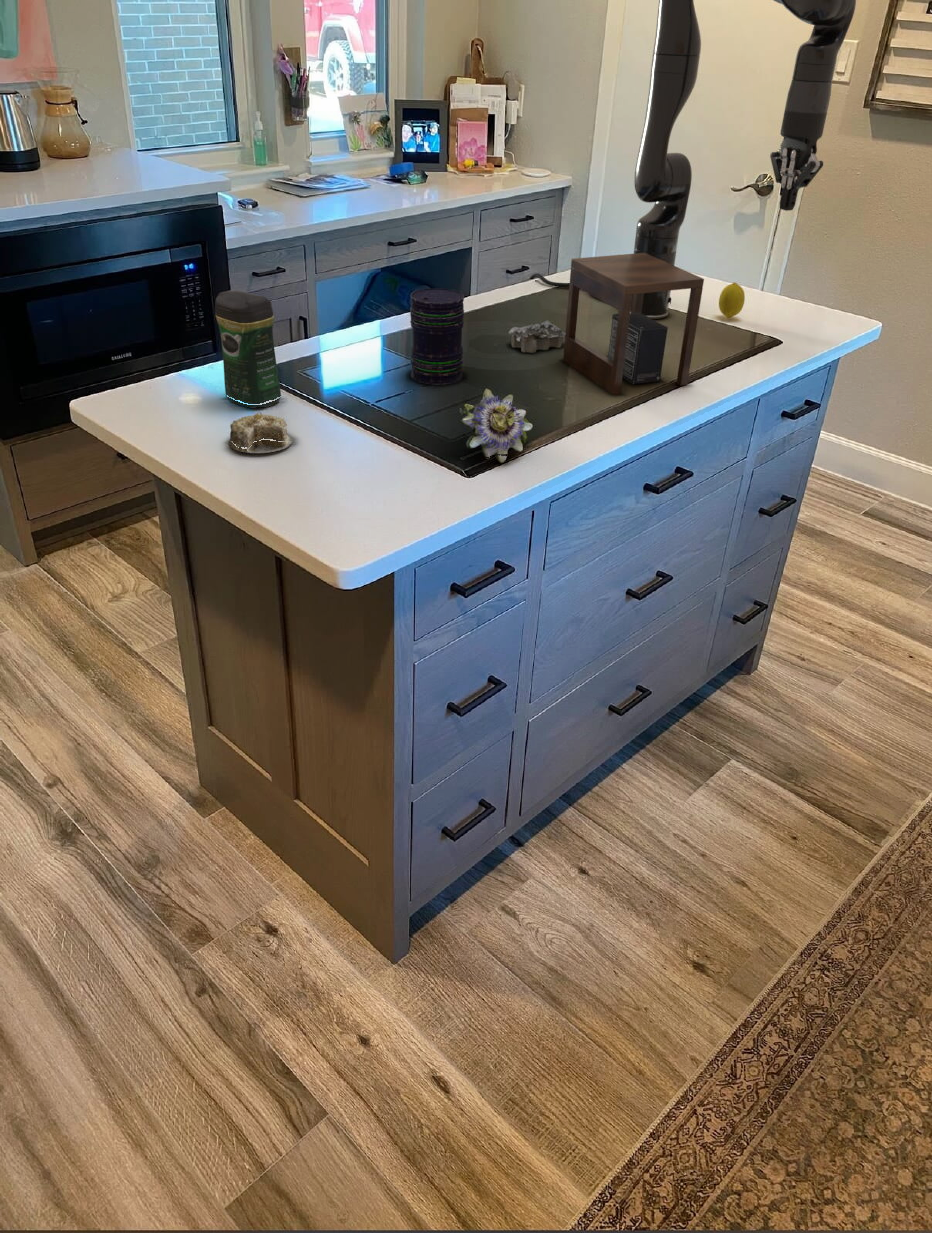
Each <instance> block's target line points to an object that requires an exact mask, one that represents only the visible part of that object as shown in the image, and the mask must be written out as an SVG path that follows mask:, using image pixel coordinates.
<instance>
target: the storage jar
mask: <svg viewBox="0 0 932 1233" xmlns="http://www.w3.org/2000/svg"><path fill="white" fill-rule="evenodd" d="M410 301H411V302H410V309H409V310H410V311H409V312H410V313H409V316H410V321H409V322H410V327H411V334H412V335H411V347H410V364H411V365H410V366H411V374H410V376H411V378H412V379H413V380H414V381H416V382H418V383H421V384H425V385H432V386H433V385H436V386H441V385H449V384H454V383H457V382H459V381H460V380H461V379H462V378H463V373H462V369H463V363H464V356H463V355H464V348H463V346H462V342H463V341H462V340H463V338H462V337H463V336H462V335H463V328H464V324H465V321H464V317H465V309H464V301H465V295H464V294H463V293H462V292H461V291H458V290H455V289H450V288H440V287H439V288H438V287H435V288H434V287H433V288H431V287H430V288H429V287H428V288H422V289H418V290H415V291H413V292H411V293H410Z"/></svg>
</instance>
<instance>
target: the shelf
mask: <svg viewBox="0 0 932 1233" xmlns="http://www.w3.org/2000/svg"><path fill="white" fill-rule="evenodd" d="M569 274H570V275H569V283H570V285H569V287H568V299H567V309H566V323H565V332H566V333H565V332H564V333H565V337H564V347H563V357H562V360H563V362H565V363H566V364H568V365H569V366H570V367H572V368H573V369H575V370H577V371H578V372H580V373H581V374H582V375H584V376H586V377H587V378H588V379H589V380H591V381H592V382H594V383H595V384H596V385H598V386H600V387H601V388H602V389H604V390H606V391H607V392H608V393H610V394H611V395H613V396H616V395H617V396H618V395H621V393H622V384H623V378H622V377H623V369H624V360H625V352H626V344H627V335H628V327H629V319H630V310H631V313H641V312H642V304H643V296H644V293H650V292H661V291H671V292H672V291H680V290H689V289H690V292H689V298H688V305H687V311H686V318H685V323H684V324H685V325H684V330H683V337H682V344H681V350H680V357H679V364H678V369H677V377H676V382H675V383H676V384H677V385H678V386H680V387H682V386H688V383H689V376H690V369H691V364H692V357H693V351H694V345H695V339H696V334H697V328H698V320H699V316H700V315H699V314H700V308H701V303H702V302H701V301H702V296H703V295H702V294H703V290H704V284H705V282H704V281H705V278H703V277H701V276H699V275H696V274H693V273H691V272H690V271H687V270H685V269H682V268H680V267H678V266H675V265H671V264H669V263H667V262H664V261H662V260H660V259H658V258H655V257H653V256H651V255H649V254H646V253H636V254H634V253H625V254H614V255H613V254H612V255H601V256H588V257H587V256H586V257H576V258H571V262H570V273H569ZM580 290H581V291H583V292H585V293H587V294H589V295H590V296H592V297H594V298H596V299H597V300H599V301H600V300H601V301H600V302H602V301H603V303H605V304H607V305H608V306H610V307H612V308H613V309H616V310H618V313H617V314H618V323H617V332H616V341H615V350H614V358H613V361H612V360H611V359H609V358H608V356H606V355H604V354H603V353H601V352H600V351H599V350H596V349H595V348H593V347H592V346H590V345H589V344H587V343H586V342H584V341H582V340H581V339H579V338H577V337H576V334H577V323H578V310H579V302H580V301H579V299H580ZM632 294H633V300H632ZM631 302H632V309H631Z"/></svg>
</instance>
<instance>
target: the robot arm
mask: <svg viewBox="0 0 932 1233" xmlns="http://www.w3.org/2000/svg"><path fill="white" fill-rule="evenodd" d="M773 1H774V2H776V3H778V4H780V5H782V6H783V7H784V8H785V9H786V10H787V11H789V12H790V13H791V14H792V15H793V16H794V17H796V18H797V19H798V20H800V21H801V22H803V23H806V24H808V25H812V26H813V28H812V31H811V33H810V36H809V39H808V40H807V41H805V42H803V43H802V44H801V45H799V47H798V50H797V52H796V56H795V62H794V67H793V73H792V76H791V77H792V78H791V81H790V82H791V83H790V86H789V88H788V92H787V96H786V101H785V106H784V112H783V117H782V122H781V126H780V132H779V133H780V136H781V137H783V138H782V141H781V143H780V147H779V149H777V151H772V152H770V155H769V158H770V161H771V166H772V170H773V174H774V178H775V182H776V183H777V184H780V187H781V194H780V199H779V210H783V211H785V212H786V211H787V212H788V211H793V210H794V208H795V206H796V202H797V198H798V193H799V190H800V189H802V188H807V187H808V186H809V184H811V182H812V181H813V180H814V178H815V177H816V176H817V174H818V173H819V172H820V171H821V169H822V168H823V166H824V161H823V160H819V159H818V157H817V152H818V145H817V144H818V141H819V140H820V139H821V138H822V137H823V135H824V130H825V124H826V119H827V115H828V111H829V106H830V101H831V95H832V85H833V80H834V75H835V70H836V66H837V61H838V55H839V52H840V50H841V47H842V45H843V43H844V41H845V38H846V36H847V33H848V31H849V28H850V26H851V23H852V21H853V18H854V15H855V11H856V6H857V0H773ZM656 16H657V17H656V29H655V37H654V43H653V51H652V58H651V66H650V67H651V68H650V76H649V87H648V96H647V104H646V110H645V117H644V123H643V130H642V133H641V139H640V142H639V143H640V144H639V149H638V153H637V158H636V163H635V167H634V168H635V169H634V190H635V193H636V196H637V198H638V199H639V200H640V201H641V202H643V203H647V204H648V203H649V204H650V203H654V205H653V206H652V208H651V209H650V210H649V211H648V212H647V213H646V214H644V215H643V216H641V217H640V218H639V219H638V220H637V222H636V228H635V229H636V230H635V239H634V245H633V246H634V248H633V254H636V253H646V254H649V255H651V256H653V257H655V258H658V259H660V260H662V261H664V262H667V263H669V264H671V265H674V266H675V264H676V257H677V249H678V242H679V234H680V229H681V227H682V225H683V224H684V221H685V218H686V214H687V209H688V208H687V207H688V202H689V198H690V192H691V188H692V187H691V186H692V178H693V172H692V166H691V162H690V160H689V158H688V157H687V156H686V155H685V154H684V153H681V152H668V151H669V143H670V138H671V135H672V131H673V129H674V125H675V123H676V121H677V119H678V118H679V116H680V114H681V113H682V110H683V108H684V107H685V105H686V104H687V102H688V100H689V98H690V96H691V95H692V93H693V90H694V88H695V86H696V83H697V78H698V72H699V67H700V58H701V51H702V38H701V37H702V36H701V32H700V31H701V30H700V26H699V21H698V17H697V12H696V8H695V1H694V0H658V6H657V15H656ZM536 278H538V279H539V280H540V281H541V282H542V283H544V284H545V285H548V286H551V287H557V288H569V285H570V282H558V281H557V282H556V281H551V280H549V279H547V278H546V277H544V276H543V275H542V274H541V273H538V272H534V273H532V275H530V277H529V278H528V279H529V280H534V279H536ZM671 292H672V290H671V291H661V292H650V293H644V296H643V304H642V312H641V314H643V315H645V316H647V317H649V318H651V319H653V320H661V319H665V318H667V317H668V316H669V306H670V305H672V297H671ZM632 300H633V294H632ZM599 301H600V302H603V301H601V300H599ZM603 303H604V302H603ZM631 309H632V302H631ZM630 313H631V310H630Z"/></svg>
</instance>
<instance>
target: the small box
mask: <svg viewBox="0 0 932 1233" xmlns="http://www.w3.org/2000/svg"><path fill="white" fill-rule="evenodd" d="M618 314H619V313H613V314H612V316H611V329H610V336H609V337H610V338H609V344H608V354H607V357H608V358H609V359H611V360H612V361H613V358H614V350H615V341H616V332H617V323H618ZM668 329H669V327H668V326H666V325H664V324H663V323H660V322H659V321H657V320H656V319H651V318H649V317H647V316H645V315H643V314H641V313H630V319H629V327H628V335H627V344H626V352H625V360H624V369H623V377H622V379H624V380H625V381H626V382H628V383H629V384H631V385H640V384H647V383H656V382H660V381H661V375H662V370H663V369H662V368H663V363H664V362H663V361H664V355H665V350H666V342H667V337H668V336H667V335H668Z"/></svg>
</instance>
